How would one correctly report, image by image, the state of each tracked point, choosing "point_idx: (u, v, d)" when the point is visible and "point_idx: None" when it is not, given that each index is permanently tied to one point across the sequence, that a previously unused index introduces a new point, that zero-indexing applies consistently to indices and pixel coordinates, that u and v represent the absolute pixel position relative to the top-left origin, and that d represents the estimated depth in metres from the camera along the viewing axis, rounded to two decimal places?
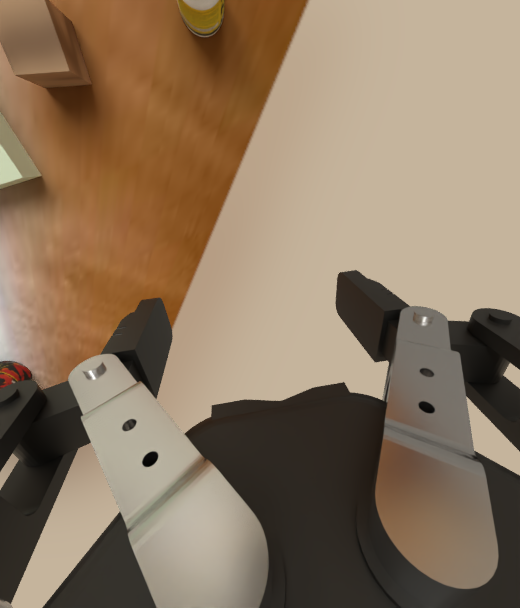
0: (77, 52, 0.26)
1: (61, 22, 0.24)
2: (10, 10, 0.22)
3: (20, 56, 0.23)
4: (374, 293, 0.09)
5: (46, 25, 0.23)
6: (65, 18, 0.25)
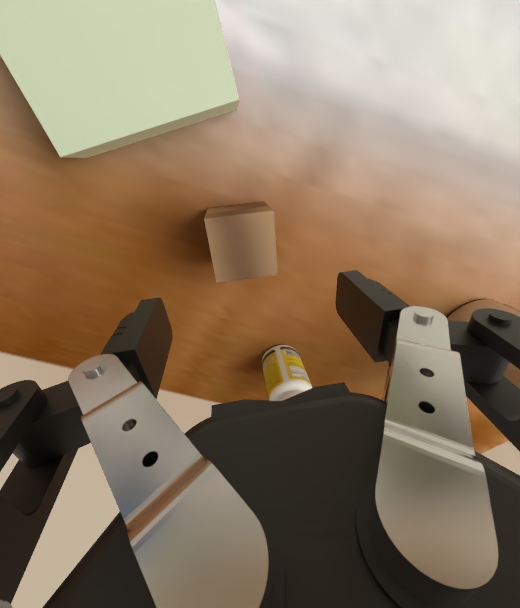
0: None
1: None
2: (264, 238, 0.19)
3: (224, 233, 0.18)
4: (374, 293, 0.09)
5: (253, 270, 0.20)
6: None
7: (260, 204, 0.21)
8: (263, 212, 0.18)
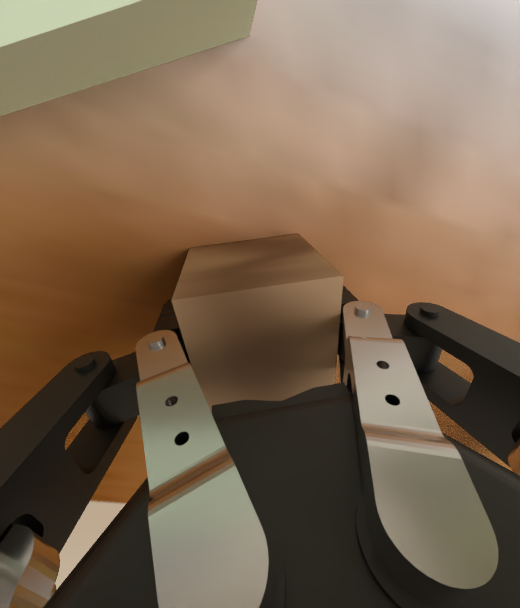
0: None
1: None
2: (315, 332, 0.08)
3: (223, 328, 0.08)
4: None
5: (286, 390, 0.09)
6: None
7: (296, 244, 0.10)
8: (318, 280, 0.07)
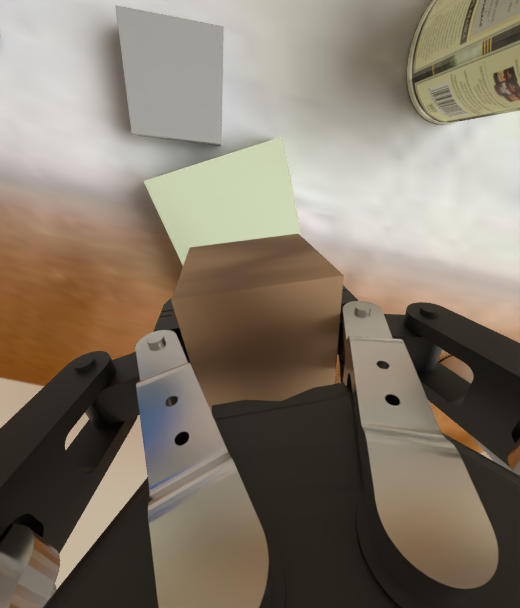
0: None
1: None
2: (315, 332, 0.08)
3: (222, 328, 0.08)
4: None
5: (286, 390, 0.09)
6: None
7: (295, 244, 0.10)
8: (318, 280, 0.07)
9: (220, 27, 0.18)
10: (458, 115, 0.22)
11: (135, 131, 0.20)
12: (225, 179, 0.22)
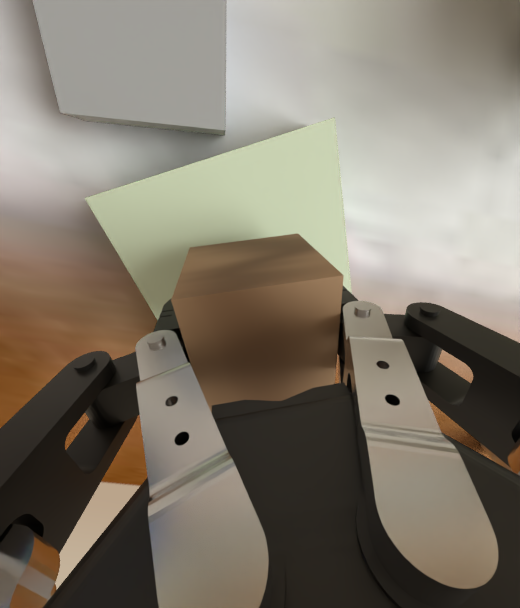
0: None
1: None
2: (315, 331, 0.08)
3: (222, 327, 0.08)
4: None
5: (286, 389, 0.09)
6: None
7: (295, 244, 0.10)
8: (318, 280, 0.07)
9: None
10: None
11: (67, 109, 0.11)
12: (231, 194, 0.12)
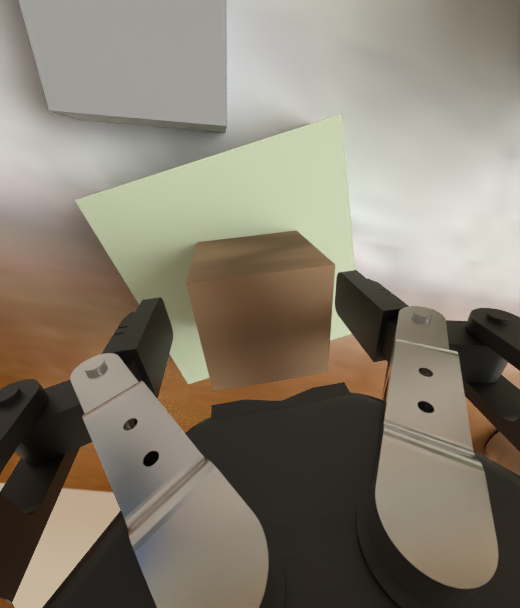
0: None
1: None
2: (310, 315, 0.09)
3: (229, 310, 0.09)
4: (373, 293, 0.09)
5: (284, 369, 0.11)
6: None
7: (294, 239, 0.11)
8: (313, 268, 0.09)
9: None
10: None
11: (56, 106, 0.10)
12: (230, 195, 0.12)
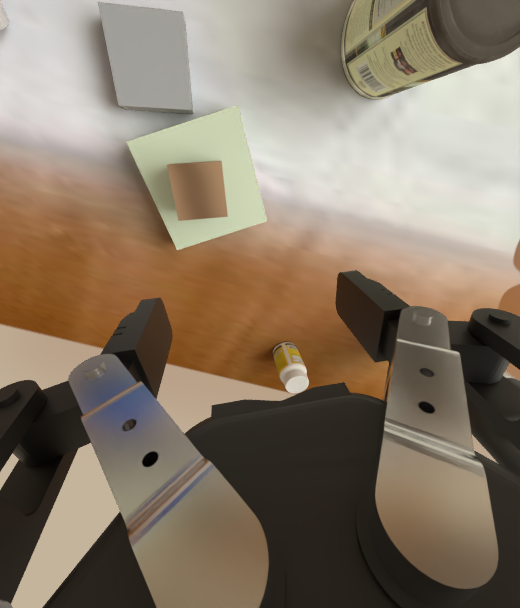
0: None
1: None
2: (215, 184, 0.24)
3: (183, 178, 0.24)
4: (374, 293, 0.09)
5: (208, 212, 0.26)
6: None
7: None
8: (213, 162, 0.24)
9: (180, 12, 0.23)
10: (381, 89, 0.27)
11: (121, 103, 0.25)
12: (193, 141, 0.27)
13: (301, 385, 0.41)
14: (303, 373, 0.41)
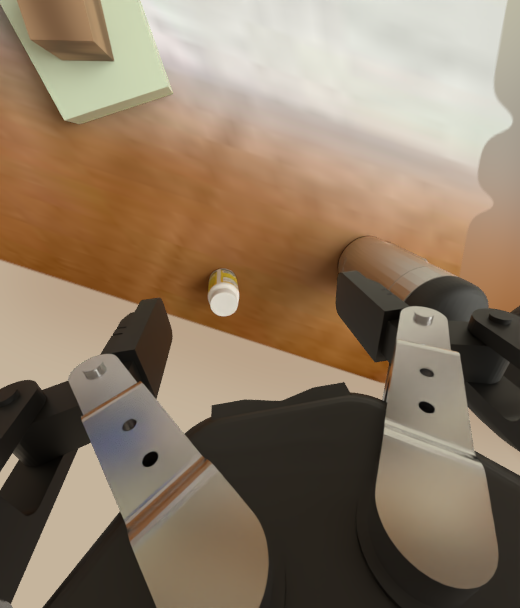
0: (79, 55, 0.24)
1: (91, 50, 0.23)
2: None
3: None
4: (374, 293, 0.09)
5: (67, 30, 0.21)
6: (106, 55, 0.25)
7: None
8: None
9: None
10: None
11: None
12: None
13: (229, 305, 0.36)
14: (231, 291, 0.36)
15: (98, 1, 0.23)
